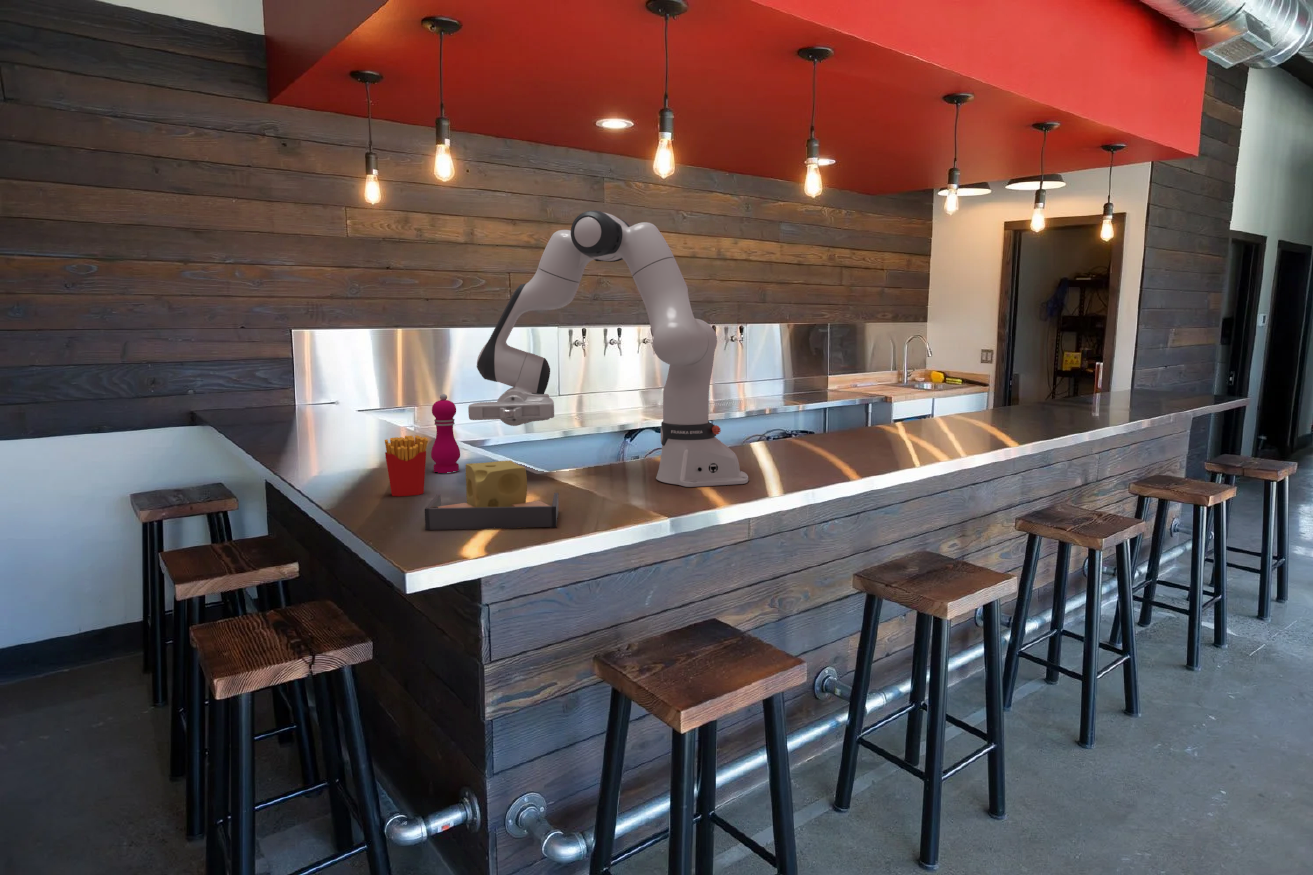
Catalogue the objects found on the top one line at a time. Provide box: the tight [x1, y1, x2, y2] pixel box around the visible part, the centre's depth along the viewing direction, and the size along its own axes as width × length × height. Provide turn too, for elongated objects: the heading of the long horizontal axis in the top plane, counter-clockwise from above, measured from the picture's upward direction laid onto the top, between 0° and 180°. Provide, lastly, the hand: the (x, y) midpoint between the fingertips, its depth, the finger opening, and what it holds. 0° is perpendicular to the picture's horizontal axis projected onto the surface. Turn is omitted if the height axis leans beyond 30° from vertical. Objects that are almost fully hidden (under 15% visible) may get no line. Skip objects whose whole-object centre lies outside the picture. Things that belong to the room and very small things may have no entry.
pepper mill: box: [430, 393, 461, 474], centre depth 202 cm, size 7×7×20 cm
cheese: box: [465, 460, 528, 507], centre depth 162 cm, size 10×11×10 cm
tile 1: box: [437, 502, 473, 508], centre depth 155 cm, size 6×6×3 cm
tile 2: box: [512, 500, 551, 507], centre depth 157 cm, size 6×6×3 cm
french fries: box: [384, 435, 429, 497], centre depth 178 cm, size 9×4×13 cm, turn 111°
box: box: [424, 492, 560, 531], centre depth 156 cm, size 24×12×4 cm, turn 95°
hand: (509, 414), depth 183 cm, fingers closed
